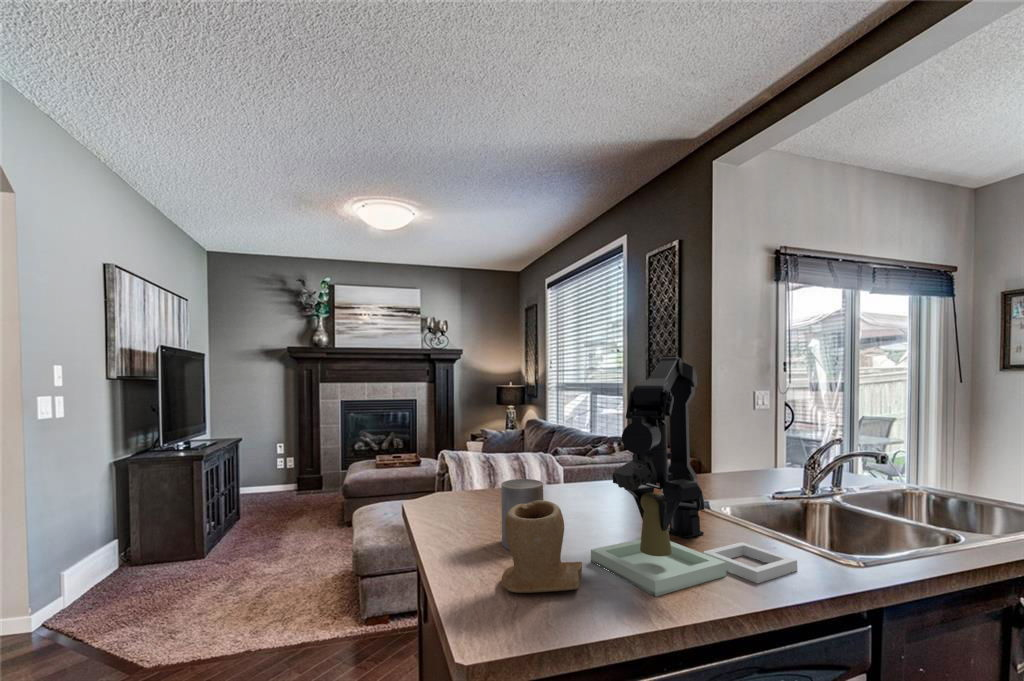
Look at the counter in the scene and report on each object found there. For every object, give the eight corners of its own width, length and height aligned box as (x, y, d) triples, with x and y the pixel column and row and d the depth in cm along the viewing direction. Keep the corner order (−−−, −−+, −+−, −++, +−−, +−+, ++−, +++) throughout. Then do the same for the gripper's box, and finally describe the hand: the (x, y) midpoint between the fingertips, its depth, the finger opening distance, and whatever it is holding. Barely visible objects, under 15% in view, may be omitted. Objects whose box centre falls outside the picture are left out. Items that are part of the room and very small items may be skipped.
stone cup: (500, 604, 80) (500, 512, 81) (502, 575, 92) (501, 495, 93) (592, 603, 80) (590, 511, 81) (581, 575, 92) (579, 494, 93)
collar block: (703, 561, 98) (703, 551, 98) (742, 551, 104) (741, 542, 104) (757, 583, 87) (757, 572, 88) (797, 570, 93) (796, 560, 93)
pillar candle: (534, 535, 115) (532, 471, 117) (552, 548, 106) (550, 479, 108) (495, 541, 112) (494, 475, 113) (511, 555, 103) (509, 483, 104)
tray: (591, 562, 98) (590, 549, 98) (656, 547, 107) (656, 535, 107) (655, 596, 82) (655, 581, 83) (726, 575, 91) (725, 562, 91)
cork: (633, 547, 97) (632, 491, 98) (658, 544, 99) (656, 489, 100) (652, 558, 91) (650, 498, 92) (678, 553, 93) (676, 495, 94)
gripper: (591, 444, 101) (593, 521, 100) (656, 457, 85) (659, 549, 83) (632, 441, 106) (634, 513, 105) (701, 452, 90) (704, 538, 89)
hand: (655, 527), depth 95 cm, fingers closed on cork, 4 cm apart
